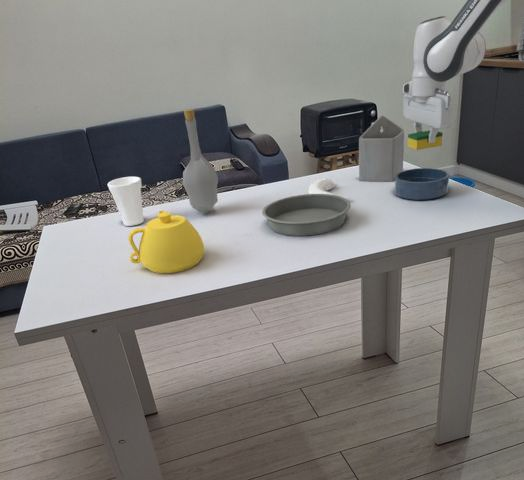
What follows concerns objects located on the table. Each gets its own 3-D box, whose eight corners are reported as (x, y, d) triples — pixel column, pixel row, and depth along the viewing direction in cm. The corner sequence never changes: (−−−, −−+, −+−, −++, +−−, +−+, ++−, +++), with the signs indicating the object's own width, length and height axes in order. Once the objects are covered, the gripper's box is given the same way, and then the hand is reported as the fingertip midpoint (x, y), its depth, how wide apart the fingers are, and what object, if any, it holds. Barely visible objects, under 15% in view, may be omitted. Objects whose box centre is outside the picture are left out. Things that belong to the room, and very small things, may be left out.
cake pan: (345, 204, 161) (345, 189, 159) (356, 233, 141) (356, 217, 138) (264, 212, 163) (262, 197, 160) (263, 242, 142) (261, 226, 140)
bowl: (450, 186, 165) (452, 168, 162) (442, 202, 154) (444, 183, 151) (401, 185, 171) (401, 167, 169) (389, 200, 160) (390, 182, 157)
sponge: (432, 142, 157) (433, 129, 155) (441, 145, 153) (442, 132, 151) (407, 146, 155) (408, 134, 154) (416, 150, 151) (417, 137, 149)
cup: (141, 215, 173) (132, 174, 166) (155, 222, 165) (146, 179, 158) (113, 224, 168) (102, 182, 161) (125, 231, 161) (115, 188, 154)
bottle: (229, 212, 166) (214, 108, 150) (196, 222, 162) (177, 115, 146) (214, 204, 174) (199, 105, 158) (182, 213, 170) (163, 111, 154)
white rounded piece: (319, 187, 179) (362, 187, 173) (301, 208, 165) (347, 210, 159) (318, 172, 176) (362, 172, 171) (300, 193, 162) (347, 194, 157)
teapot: (211, 267, 132) (203, 217, 125) (134, 283, 129) (121, 232, 122) (198, 240, 148) (190, 195, 141) (130, 253, 145) (118, 207, 138)
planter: (369, 186, 174) (370, 122, 163) (358, 180, 180) (358, 119, 170) (414, 177, 177) (417, 114, 167) (401, 172, 184) (404, 111, 173)
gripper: (460, 89, 138) (455, 145, 145) (419, 82, 155) (416, 132, 162) (439, 92, 137) (434, 149, 144) (399, 85, 154) (397, 136, 161)
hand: (424, 140), depth 153 cm, fingers closed on sponge, 5 cm apart
